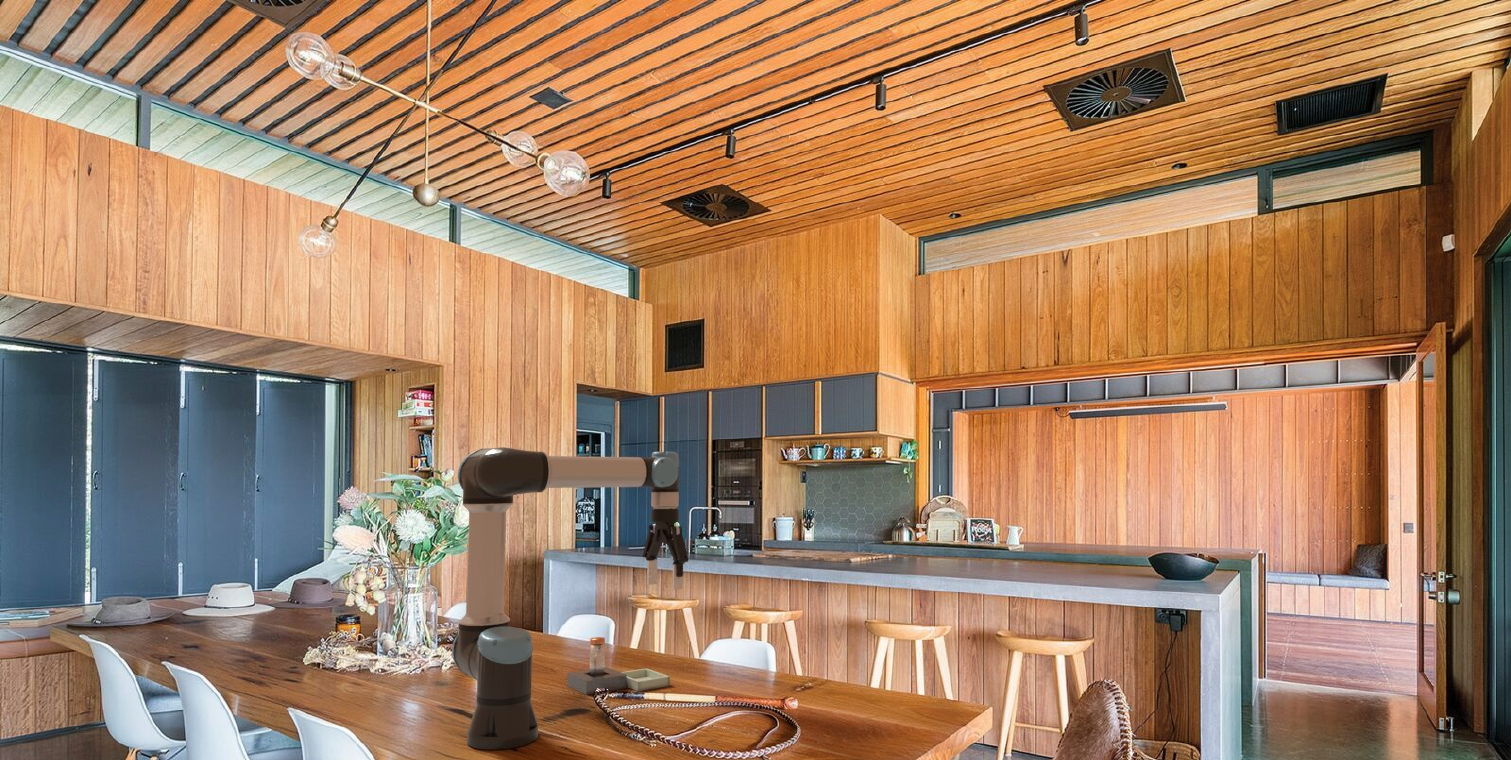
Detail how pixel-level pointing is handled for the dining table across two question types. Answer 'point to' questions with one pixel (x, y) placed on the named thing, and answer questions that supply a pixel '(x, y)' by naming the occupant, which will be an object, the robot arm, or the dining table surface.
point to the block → (596, 681)
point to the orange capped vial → (597, 656)
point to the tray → (646, 679)
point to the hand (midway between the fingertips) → (664, 586)
